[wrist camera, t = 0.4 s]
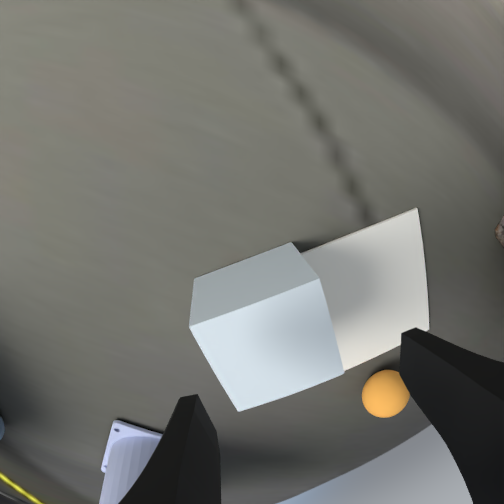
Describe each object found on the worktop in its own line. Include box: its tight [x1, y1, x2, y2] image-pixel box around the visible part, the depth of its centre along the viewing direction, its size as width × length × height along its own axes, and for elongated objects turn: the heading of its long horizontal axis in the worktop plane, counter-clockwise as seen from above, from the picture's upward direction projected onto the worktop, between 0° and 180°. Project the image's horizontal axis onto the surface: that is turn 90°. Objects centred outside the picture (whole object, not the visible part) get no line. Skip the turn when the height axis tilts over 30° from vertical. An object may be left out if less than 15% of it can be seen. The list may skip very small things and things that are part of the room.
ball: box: [362, 370, 410, 418], centre depth 21 cm, size 4×4×4 cm
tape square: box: [300, 208, 429, 371], centre depth 20 cm, size 10×10×1 cm
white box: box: [189, 242, 344, 412], centre depth 17 cm, size 6×6×5 cm
